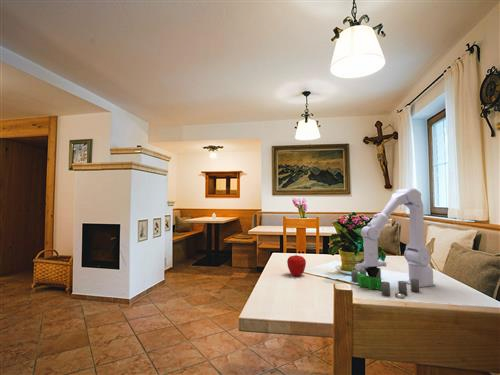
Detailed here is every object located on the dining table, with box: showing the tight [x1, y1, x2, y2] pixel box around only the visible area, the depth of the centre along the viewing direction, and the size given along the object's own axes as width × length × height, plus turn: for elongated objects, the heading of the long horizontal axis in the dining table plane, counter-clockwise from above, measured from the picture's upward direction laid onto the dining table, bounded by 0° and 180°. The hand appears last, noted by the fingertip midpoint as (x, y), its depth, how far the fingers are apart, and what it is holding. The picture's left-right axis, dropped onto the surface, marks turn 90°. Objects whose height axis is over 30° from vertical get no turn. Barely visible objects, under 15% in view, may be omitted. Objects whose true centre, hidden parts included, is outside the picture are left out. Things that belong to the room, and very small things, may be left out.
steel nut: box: [394, 292, 406, 299], centre depth 105 cm, size 3×3×1 cm
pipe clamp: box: [357, 272, 382, 291], centre depth 117 cm, size 11×4×5 cm, turn 33°
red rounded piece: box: [286, 254, 307, 277], centre depth 139 cm, size 10×10×11 cm
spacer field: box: [350, 267, 421, 297], centre depth 119 cm, size 18×25×5 cm
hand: (372, 283), depth 118 cm, fingers closed, pressing on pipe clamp
